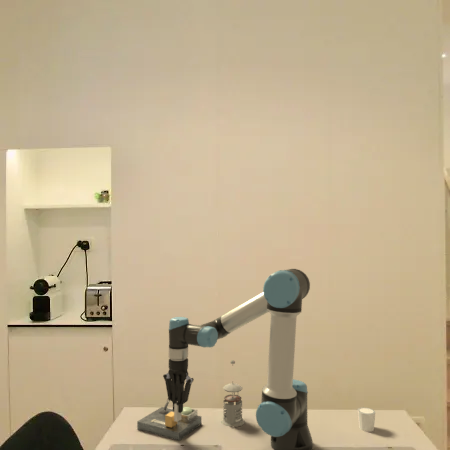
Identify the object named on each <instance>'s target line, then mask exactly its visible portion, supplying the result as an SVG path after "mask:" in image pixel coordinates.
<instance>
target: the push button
mask: <svg viewBox="0 0 450 450" xmlns="http://www.w3.org/2000/svg"><path fill="white" fill-rule="evenodd" d="M192 409H193V408H192V407H190V406H183V412H181V414H184V415H189V414H191V413H192Z"/></svg>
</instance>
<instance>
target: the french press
mask: <svg viewBox="0 0 450 450" xmlns="http://www.w3.org/2000/svg"><path fill="white" fill-rule="evenodd" d="M230 364H232V365H234V364H236V361H235V360H231V361H230ZM222 389H223V390H224V392H227V393H231V394H226V395H225V396H224V397H223V399H224V400H223V402H222V405H223V412H222V413H223V417H222V419H221V420H220V423H221V424H222V425H224V426H225V427H230V428H233V427H234V428H236V427H240V426H242V425H244V424H245V420H244V418H243V400H242V396H240V394H235V393H239V392H241V391H242V390H243V386H242V385H240V384H239V383H237V382H236V383H235V382H231V383H227V384H225V385H224V386H222Z"/></svg>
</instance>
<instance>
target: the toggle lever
mask: <svg viewBox="0 0 450 450" xmlns="http://www.w3.org/2000/svg"><path fill="white" fill-rule="evenodd" d="M170 402H171V400H170V401H169V400H168V398H167V399H166V401H165V404H164V406H163V407H164V409H163V410H164V411H166V409H167V408H168V407H169V404H170Z"/></svg>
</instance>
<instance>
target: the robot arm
mask: <svg viewBox="0 0 450 450" xmlns="http://www.w3.org/2000/svg"><path fill="white" fill-rule="evenodd" d="M262 288H263V291H262V292H260V293H259V294H257V295H255V296H254V297H252V298H250V299H249V300H247V301H245V302H244V303H241V304H240V305H238V306H236V307H235V308H233V309H231V310H230V311H228V312H226V313H224V314H223V315H221V316H219V317H218V318H216V319H214V320H212V321H208V322H206V323H202V324H200V325H199V324H198V325H197V324H191V323H190V322H189V321H190V320H189V318H187V317H185V316H175V317H172V318H170V319H169V325H168V341H169V342H168V372H167V373H165V374H163V376H162V377H163V379H164V382H165V388H166V393H167V399H168V400H169V401H170V402H172V409H173V411H174V421H176V422H178V421H179V420H181V412H183V407H184V404H185V403H187V402H188V401H189V396H190V392H191V387H192V383H193V382H194V377H191V376H189V372H188V370H189V358H188V357H189V345H191V346H194V347H195V346H196V347H201V348H213V347H215V346H216V344H217V341H218V340H220V339H223V338H225V337H227V336H228V335H230V334H231V333H233V332H235V331H237V330H238V329H240V328H241V327H244V326H245V325H248V324H249V323H251V322H253V321H255V320H257V319H258V318H260V317H262V316H264V315H266V314H268V313H270V328H269V342H268V362H267V363H268V364H267V378H266V384H264V385H263V387H262V389H261V400H260V401H261V402H260V404H259V405H257V406H258V407H257V409H256V411H255V419H256V422H257V424H258V426H259V428H260V429H261V430H262V431H263V433H265V434H266V435H268V436H270V446H271V448H272V449H273V450H313V445H314V444H313V437H312V434H311V432H310V429H309V425H308V393H309V392H308V386H307V384H306V383H305V382H304V381H302V380H299V379H294V369H295V368H294V367H295V366H294V365H295V350H296V349H295V347H296V331H297V330H296V329H297V317H298V316H299V315H300V314H301V313H302V309H303V307H302V306H303V299H305V298H306V297H307V295H308V294H309V292H310V290H311V282H310V278H309V277H308V276H307V274H306V273H305V272H304V271H302V270H300V269H297V268H288V269H281V270H277V271H275V272H272V273H271V274H270V275H268V277H267V278H266V279H265V281H264V284H263V287H262Z"/></svg>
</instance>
